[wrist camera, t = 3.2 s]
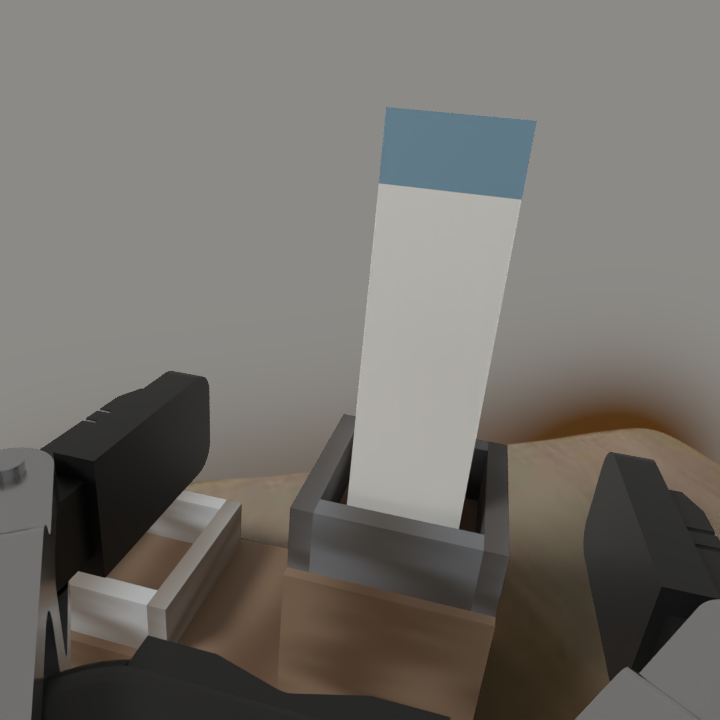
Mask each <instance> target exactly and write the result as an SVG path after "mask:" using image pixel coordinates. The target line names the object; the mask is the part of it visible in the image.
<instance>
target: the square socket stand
mask: <svg viewBox="0 0 720 720" xmlns="http://www.w3.org/2000/svg"><path fill="white" fill-rule="evenodd" d="M355 419H356V417H355V416H350V415H345V414H344V415H343V417H342V418H341V420H340V422H339V424H338V425H337V427H336V429H335V431H334V432H333V434H332V436H331V438H330V439H329V441H328V443H327V445H326V446H325V448H324V450H323V452H322V453H321V455H320V457H319V459H318V460H317V462H316V464H315V466H314V467H313V469H312V471H311V473H310V474H309V476H308V478H307V480H306V481H305V483H304V485H303V487H302V488H301V490H300V492H299V494H298V495H297V497H296V499H295V501H294V502H293V504H292V506H291V508H290V523H289V541H288V549H286V548H282V547H278V546H274V545H269V544H265V543H261V542H257V541H252V540H248V539H244V538H241V506H242V503H238V502H234V501H229V500H225V499H220V498H216V497H211V496H207V495H202V494H198V493H193V492H189V491H183V492H182V493H181V494H180V495H179V496H178V497H177V498H176V500H175V501H174V502H173V503H172V504H171V505H170V506H169V507H168V509H167V510H166V511H165V512H164V513H163V514H162V515H161V516H160V517H159V519H158V520H157V521H156V522H155V523H154V524H153V525H152V526H151V528H150V529H149V530H148V531H147V532H146V533H145V534H144V535H143V536H142V538H141V539H140V540H139V541H138V542H137V543H136V544H135V545H134V546H133V548H132V549H131V550H130V551H129V552H128V553H127V554H126V555H125V557H124V558H123V559H122V560H121V561H120V562H119V563H118V564H117V565H116V567H115V568H114V569H113V570H112V571H111V572H110V573H109V574H108V576H107V577H106V578H103V577H99V576H95V575H91V574H87V573H84V572H80V571H78V572H77V573H76V574H75V575H74V576H73V577H72V578H71V579H70V580H69V583H70V591H71V668H74V667H78V666H81V665H85V664H90V663H96V662H101V661H110V660H121V659H131V658H132V657H133V655H134V654H135V653H136V651H137V650H138V648H139V647H140V646H141V644H142V643H143V641H144V640H145V638H146V637H147V636H152V637H156V638H160V639H163V640H167V641H171V642H174V643H178V644H182V645H185V646H189V647H193V648H197V649H200V650H204V651H208V652H211V653H215V654H218V655H219V656H221V657H223V658H225V659H226V660H228V661H230V662H232V663H233V664H235V665H237V666H238V667H240V668H242V669H244V670H245V671H247V672H249V673H251V674H252V675H254V676H256V677H257V678H259V679H261V680H263V681H264V682H266V683H268V684H270V685H271V686H273V687H275V688H276V689H278V690H280V691H283V692H286V693H294V694H330V695H367V696H374V697H378V698H381V699H385V700H389V701H393V702H396V703H400V704H404V705H407V706H411V707H415V708H418V709H422V710H426V711H429V712H433V713H437V714H441V715H444V716H448V717H450V720H473V718H474V714H475V709H476V705H477V701H478V697H479V693H480V688H481V684H482V680H483V676H484V672H485V667H486V663H487V659H488V655H489V651H490V646H491V642H492V638H493V634H494V630H495V616H496V612H497V608H498V604H499V599H500V595H501V591H502V587H503V583H504V578H505V574H506V570H507V566H508V561H509V557H510V549H509V502H508V454H507V445H504V444H499V443H493V442H488V441H482V440H477V439H476V441H475V447H474V452H473V457H472V462H471V468H470V473H469V478H468V483H467V489H466V494H465V499H464V504H463V510H462V515H461V520H460V525H459V529H455V528H451V527H446V526H441V525H437V524H432V523H428V522H423V521H418V520H414V519H409V518H404V517H400V516H395V515H391V514H386V513H381V512H377V511H372V510H368V509H363V508H358V507H354V506H349V505H347V499H348V489H349V479H350V469H351V459H352V449H353V439H354V429H355Z"/></svg>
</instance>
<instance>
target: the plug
mask: <svg viewBox="0 0 720 720" xmlns="http://www.w3.org/2000/svg"><path fill="white" fill-rule="evenodd" d="M535 126H536V121H531V120H520V119H509V118H498V117H487V116H475V115H464V114H454V113H443V112H433V111H421V110H410V109H399V108H389V107H386V116H385V127H384V137H383V147H382V157H381V167H380V177H379V187H378V197H377V208H376V217H375V227H374V237H373V247H372V257H371V268H370V278H369V288H368V299H367V309H366V318H365V329H364V338H363V348H362V358H361V368H360V378H359V389H358V398H357V408H356V419H355V429H354V439H353V449H352V459H351V469H350V479H349V489H348V499H347V505H349V506H354V507H358V508H363V509H368V510H372V511H377V512H381V513H386V514H391V515H395V516H400V517H404V518H409V519H414V520H418V521H423V522H428V523H432V524H437V525H441V526H446V527H451V528H455V529H459V525H460V520H461V515H462V510H463V504H464V499H465V494H466V489H467V483H468V478H469V473H470V468H471V462H472V457H473V452H474V447H475V441H476V436H477V431H478V426H479V420H480V415H481V409H482V405H483V399H484V394H485V389H486V383H487V378H488V373H489V367H490V362H491V357H492V351H493V346H494V341H495V336H496V331H497V326H498V320H499V315H500V310H501V305H502V300H503V294H504V289H505V283H506V279H507V273H508V268H509V263H510V258H511V252H512V246H513V242H514V237H515V231H516V226H517V221H518V216H519V210H520V205H521V199H522V195H523V189H524V184H525V179H526V174H527V168H528V163H529V158H530V152H531V147H532V142H533V137H534V132H535Z"/></svg>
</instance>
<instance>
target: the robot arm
mask: <svg viewBox="0 0 720 720" xmlns="http://www.w3.org/2000/svg"><path fill="white" fill-rule="evenodd" d="M209 446H210V411H209V384H208V381H207V379H206V378H205V377H201V376H196V375H191V374H186V373H179V372H174V371H168V372H166V373H165V374H163V375H162V376H161V377H159V378H158V379H156V380H155V381H153V382H152V383H151V384H149V385H148V386H147V387H145V388H144V389H139V390H136V391H133V392H130V393H127V394H124V395H122V396H119V397H117V398H115V399H114V400H112V401H111V402H110V403H108V404H106V405H105V406H104V407H102V408H101V409H100V411H96V412H95V413H93V414H92V415H90V416H89V417H87V418H86V421H81V422H80V423H79V424H77V425H75V426H74V427H73V428H71V429H70V430H68V431H67V432H65V433H64V434H62V435H61V436H59V437H58V438H56V439H55V440H53V441H52V442H51V443H49V444H48V445H46V446H45V447H43V448H42V449H40V450H38V449H33V448H9V449H3V450H0V720H450V717H448V716H444V715H441V714H437V713H433V712H429V711H426V710H422V709H418V708H415V707H411V706H407V705H404V704H400V703H396V702H393V701H389V700H385V699H381V698H378V697H374V696H367V695H330V694H294V693H286V692H283V691H280V690H278V689H276V688H275V687H273V686H271V685H270V684H268V683H266V682H264V681H263V680H261V679H259V678H257V677H256V676H254V675H252V674H251V673H249V672H247V671H245V670H244V669H242V668H240V667H238V666H237V665H235V664H233V663H232V662H230V661H228V660H226V659H225V658H223V657H221V656H219V655H218V654H215V653H211V652H208V651H204V650H200V649H197V648H193V647H189V646H185V645H182V644H178V643H174V642H171V641H167V640H163V639H160V638H156V637H152V636H147V637H146V638H145V640H144V641H143V643H142V644H141V646H140V647H139V648H138V650H137V651H136V653H135V654H134V655H133V657H132V658H131V659H121V660H110V661H101V662H96V663H90V664H85V665H81V666H78V667H74V668H71V591H70V583H69V580H70V579H71V578H72V577H73V576H74V575H75V574H76V573H77V572H78V571H80V572H84V573H87V574H91V575H95V576H99V577H103V578H106V577H107V576H108V574H109V573H110V572H111V571H112V570H113V569H114V568H115V567H116V565H117V564H118V563H119V562H120V561H121V560H122V559H123V558H124V557H125V555H126V554H127V553H128V552H129V551H130V550H131V549H132V548H133V546H134V545H135V544H136V543H137V542H138V541H139V540H140V539H141V538H142V536H143V535H144V534H145V533H146V532H147V531H148V530H149V529H150V528H151V526H152V525H153V524H154V523H155V522H156V521H157V520H158V519H159V517H160V516H161V515H162V514H163V513H164V512H165V511H166V510H167V509H168V507H169V506H170V505H171V504H172V503H173V502H174V501H175V500H176V498H177V497H178V496H179V495H180V494H181V493H182V492H183V491H184V490H185V488H186V487H187V486H188V485H189V484H190V483H191V482H192V481H193V479H194V478H195V477H196V476H197V475H198V474H199V473H200V471H201V470H202V468H203V467H204V465H205V462H206V460H207V456H208V453H209ZM714 534H715V532H714V530H713V528H712V526H711V524H710V522H709V521H708V519H707V517H706V515H705V513H704V512H703V511H702V510H701V509H700V508H699V507H698V506H697V505H695V504H694V503H693V502H692V501H691V500H690V499H689V498H688V497H687V496H685V495H684V494H683V493H682V492H678V491H673V490H668V488H667V486H666V483H665V481H664V479H663V477H662V475H661V473H660V471H659V469H658V467H657V465H656V463H655V461H654V460H651V459H646V458H641V457H635V456H630V455H624V454H619V453H613V452H609V453H608V454H607V456H606V458H605V460H604V463H603V466H602V469H601V473H600V476H599V480H598V483H597V487H596V490H595V493H594V497H593V500H592V504H591V507H590V511H589V514H588V518H587V521H586V526H585V532H584V557H585V561H586V566H587V571H588V576H589V581H590V586H591V591H592V596H593V601H594V606H595V611H596V616H597V621H598V626H599V630H600V635H601V640H602V645H603V650H604V655H605V660H606V665H607V670H608V675H609V680H610V683H609V684H608V685H607V686H606V687H605V688H604V689H603V690H602V691H601V692H600V693H599V694H598V695H597V696H596V698H595V699H594V700H593V701H592V702H591V703H590V704H589V705H588V706H587V707H586V708H585V709H584V710H583V711H582V712H581V714H580V715H579V716H578V717H577V718H576V719H575V720H720V541H719V539H718V537H717V536H715V535H714Z"/></svg>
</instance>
